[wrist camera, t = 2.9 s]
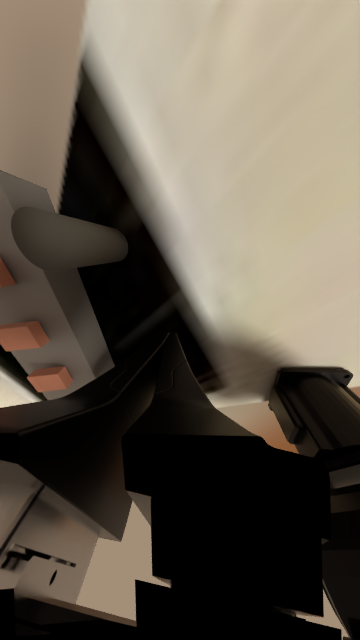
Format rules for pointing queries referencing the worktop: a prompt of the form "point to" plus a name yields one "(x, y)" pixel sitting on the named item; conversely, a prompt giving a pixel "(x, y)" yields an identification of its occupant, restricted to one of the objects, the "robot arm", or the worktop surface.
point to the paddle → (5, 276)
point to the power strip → (48, 300)
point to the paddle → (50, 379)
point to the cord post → (65, 240)
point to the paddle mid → (22, 336)
